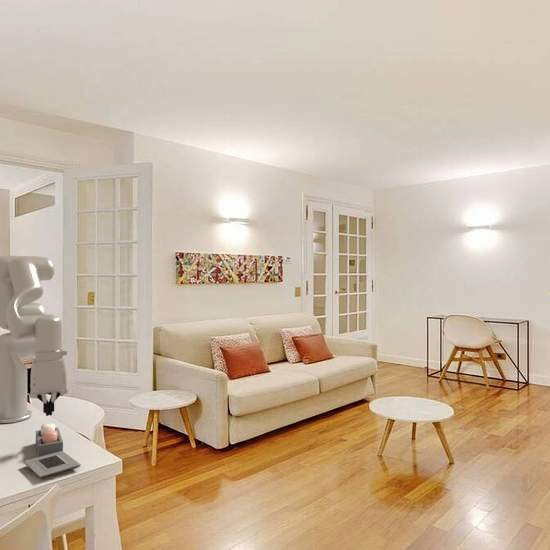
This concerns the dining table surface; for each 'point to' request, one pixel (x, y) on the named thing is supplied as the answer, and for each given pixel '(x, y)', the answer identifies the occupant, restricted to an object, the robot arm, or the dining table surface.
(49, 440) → the pink button
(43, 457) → the electrical outlet
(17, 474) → the dining table surface
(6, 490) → the dining table surface
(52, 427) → the white button
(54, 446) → the button console
